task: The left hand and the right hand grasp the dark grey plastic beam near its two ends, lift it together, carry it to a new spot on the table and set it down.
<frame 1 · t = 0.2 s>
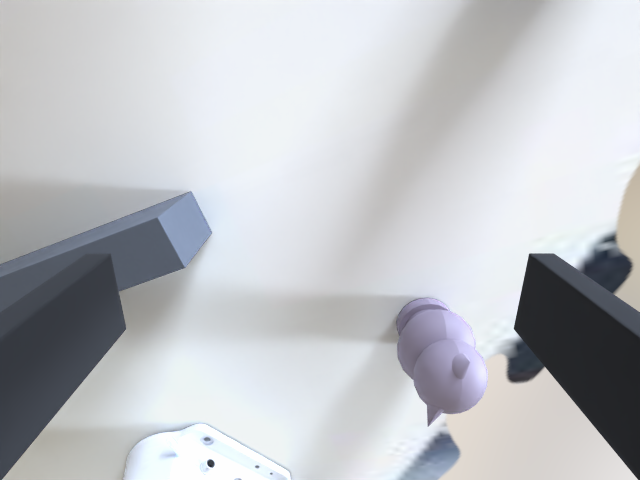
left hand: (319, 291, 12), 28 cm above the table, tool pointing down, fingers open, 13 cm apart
cat figurine: (423, 321, 45), on the table
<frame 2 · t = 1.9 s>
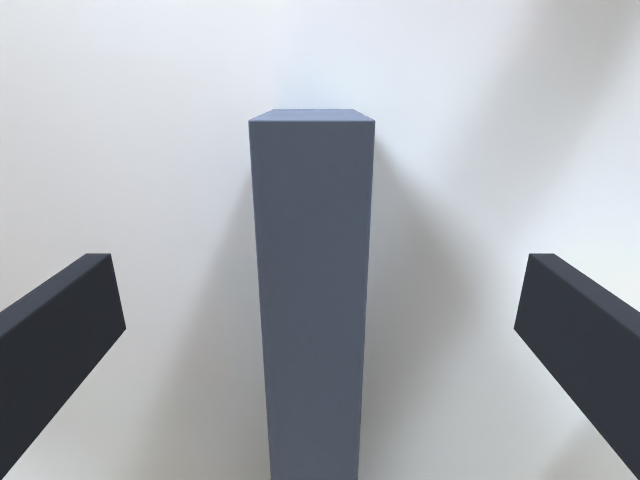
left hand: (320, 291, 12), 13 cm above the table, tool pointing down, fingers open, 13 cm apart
beam: (315, 445, 32), on the table
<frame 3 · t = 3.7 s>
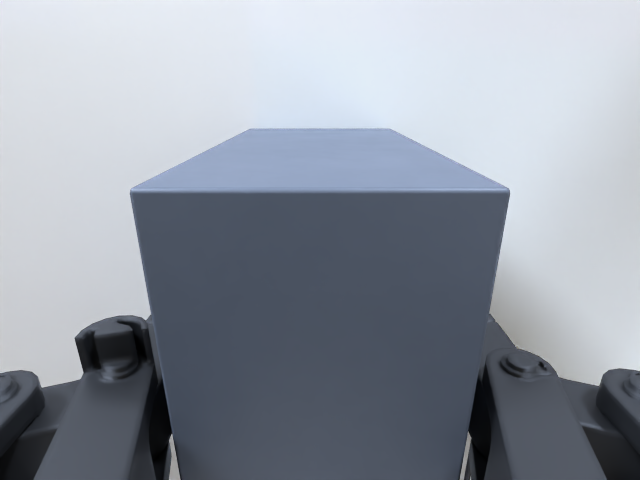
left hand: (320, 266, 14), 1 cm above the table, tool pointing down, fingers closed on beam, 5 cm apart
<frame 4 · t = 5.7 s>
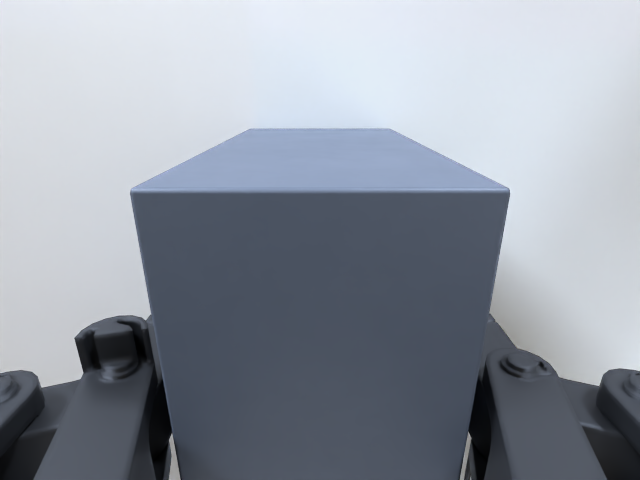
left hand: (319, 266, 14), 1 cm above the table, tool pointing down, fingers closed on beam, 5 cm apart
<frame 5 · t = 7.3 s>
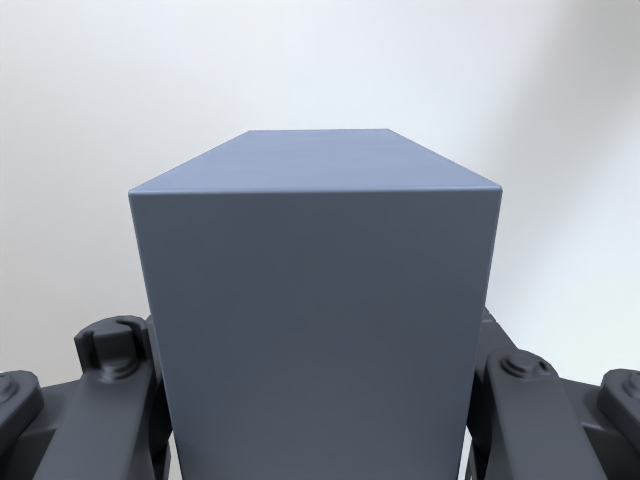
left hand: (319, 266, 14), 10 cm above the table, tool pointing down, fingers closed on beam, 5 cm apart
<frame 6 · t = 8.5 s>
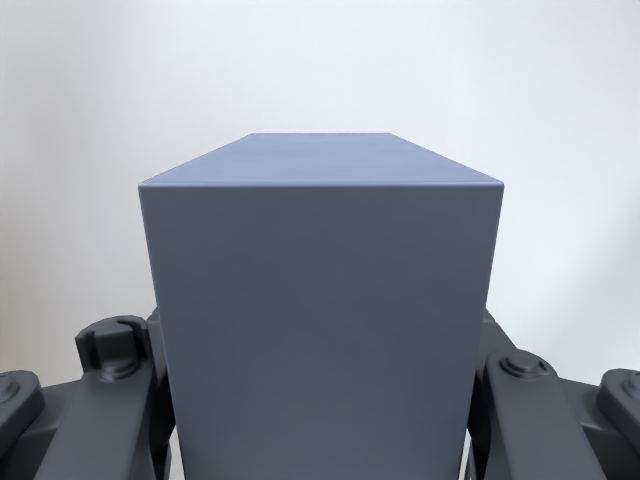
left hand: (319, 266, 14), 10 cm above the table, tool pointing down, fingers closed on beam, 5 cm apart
when the left hand's fingers open (2 cm above the table, at t = 11.0 s): beam drops 1 cm, on the table.
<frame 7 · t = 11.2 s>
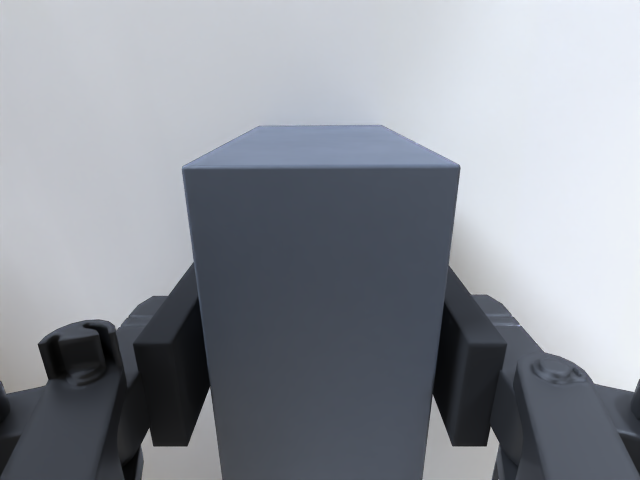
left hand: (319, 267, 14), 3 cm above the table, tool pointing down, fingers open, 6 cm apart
when the right hand's fingers open (5 cm above the table, at t = 11.2 s): beam stays where it is, on the table.
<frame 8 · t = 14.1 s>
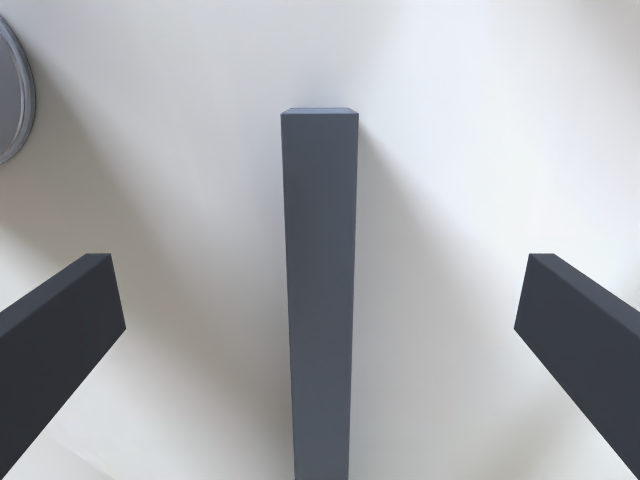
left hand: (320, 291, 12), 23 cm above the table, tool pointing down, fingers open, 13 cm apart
beam: (321, 370, 42), on the table
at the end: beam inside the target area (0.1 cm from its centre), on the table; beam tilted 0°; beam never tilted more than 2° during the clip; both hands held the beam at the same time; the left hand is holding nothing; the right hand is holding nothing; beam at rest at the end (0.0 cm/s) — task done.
